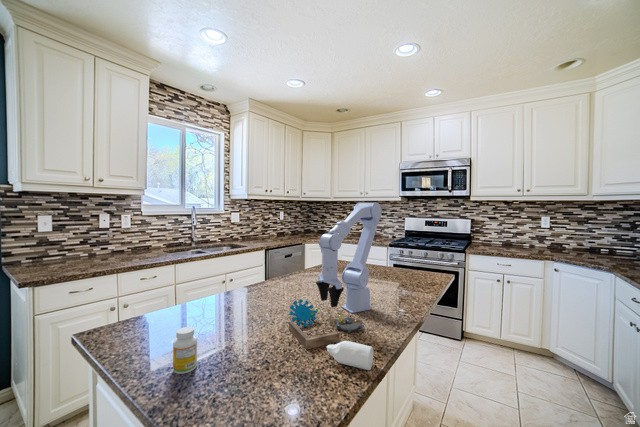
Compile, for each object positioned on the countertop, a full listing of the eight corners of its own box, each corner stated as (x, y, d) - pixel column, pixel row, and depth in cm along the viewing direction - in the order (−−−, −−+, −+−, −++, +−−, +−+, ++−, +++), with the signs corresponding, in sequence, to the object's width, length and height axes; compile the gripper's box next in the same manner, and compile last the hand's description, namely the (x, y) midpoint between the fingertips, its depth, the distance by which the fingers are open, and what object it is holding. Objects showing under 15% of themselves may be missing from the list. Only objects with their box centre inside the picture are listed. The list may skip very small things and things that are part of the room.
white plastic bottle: (330, 353, 78) (331, 333, 78) (373, 362, 74) (373, 341, 74) (322, 364, 73) (323, 342, 73) (368, 375, 68) (368, 352, 68)
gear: (292, 326, 92) (288, 298, 98) (286, 333, 95) (283, 306, 102) (322, 324, 97) (316, 298, 103) (315, 332, 100) (310, 306, 107)
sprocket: (353, 319, 102) (353, 307, 102) (368, 329, 94) (369, 315, 94) (329, 324, 97) (329, 311, 97) (343, 335, 89) (343, 321, 89)
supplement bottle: (178, 362, 73) (178, 325, 72) (200, 361, 73) (200, 325, 73) (169, 375, 67) (169, 335, 67) (192, 374, 68) (192, 334, 67)
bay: (318, 323, 98) (318, 316, 98) (339, 341, 85) (339, 332, 85) (288, 329, 93) (288, 321, 93) (306, 349, 80) (306, 340, 80)
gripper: (311, 263, 107) (310, 298, 107) (329, 271, 94) (329, 311, 94) (327, 262, 110) (326, 296, 110) (347, 269, 97) (346, 308, 98)
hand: (329, 303), depth 103 cm, fingers open, 7 cm apart
